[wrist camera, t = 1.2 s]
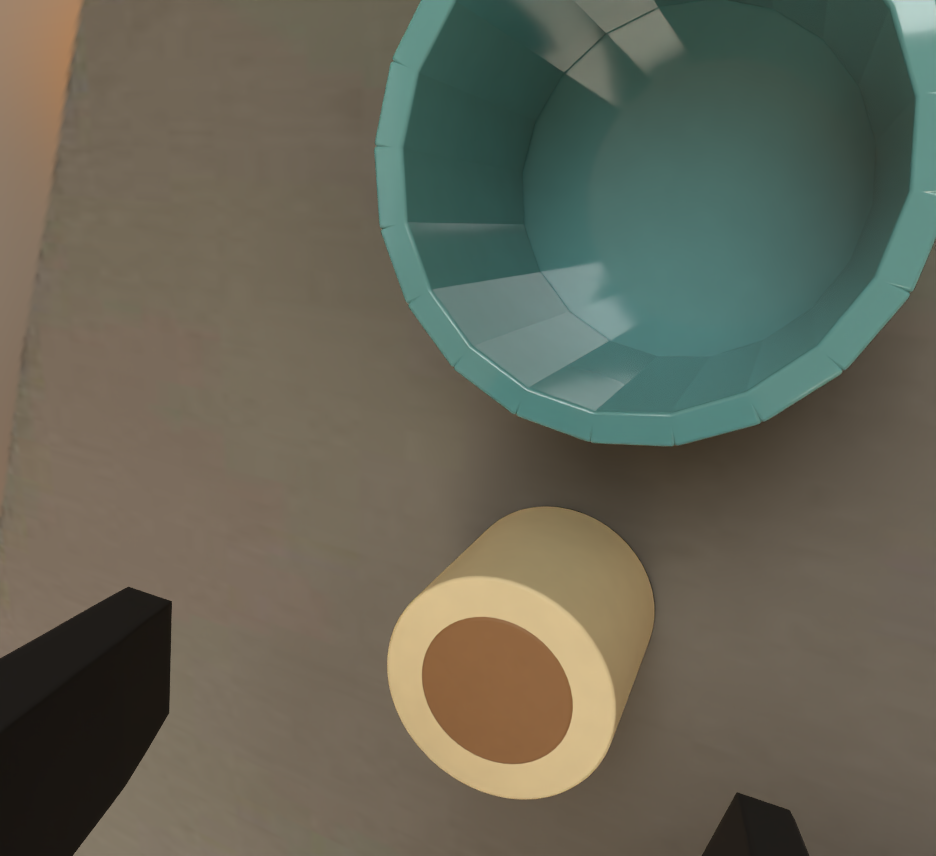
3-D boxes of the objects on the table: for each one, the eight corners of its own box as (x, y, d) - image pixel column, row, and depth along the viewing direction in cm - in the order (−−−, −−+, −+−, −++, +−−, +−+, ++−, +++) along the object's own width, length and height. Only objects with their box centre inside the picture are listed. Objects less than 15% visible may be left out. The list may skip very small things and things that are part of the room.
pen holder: (810, 424, 17) (814, 525, 11) (474, 314, 19) (331, 350, 14) (973, 24, 15) (1087, -115, 9) (566, -51, 17) (440, -200, 11)
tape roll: (620, 719, 20) (573, 843, 16) (447, 640, 22) (364, 735, 18) (683, 550, 19) (649, 640, 15) (492, 476, 20) (413, 540, 16)
